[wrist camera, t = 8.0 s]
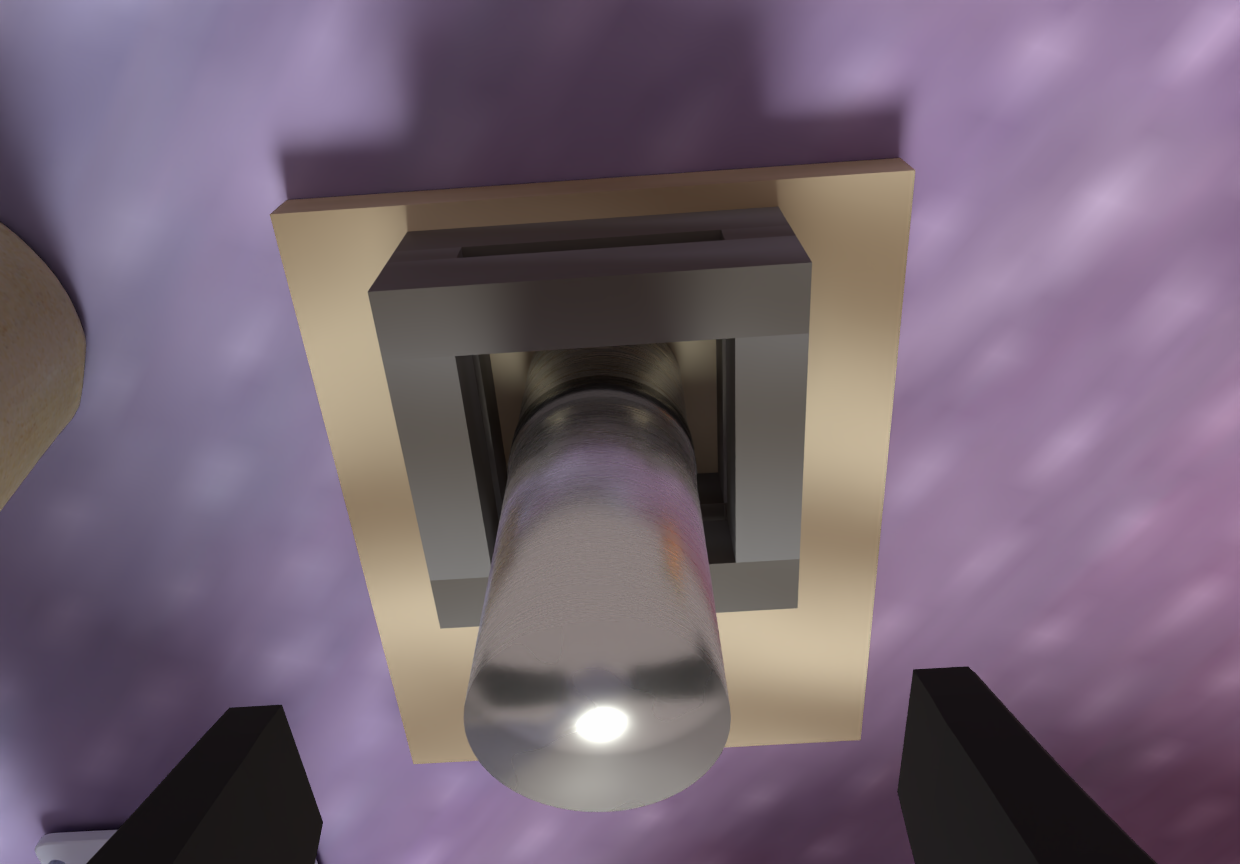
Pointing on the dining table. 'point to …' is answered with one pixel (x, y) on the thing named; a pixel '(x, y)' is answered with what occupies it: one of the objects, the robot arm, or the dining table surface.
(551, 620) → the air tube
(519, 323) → the wooden board with holder
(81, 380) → the flower pot
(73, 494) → the dining table surface
